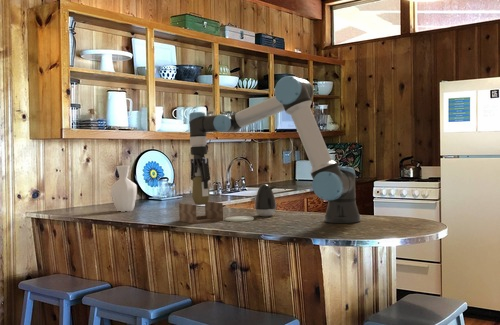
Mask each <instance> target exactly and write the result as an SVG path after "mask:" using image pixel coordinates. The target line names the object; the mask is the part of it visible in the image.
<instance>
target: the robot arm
mask: <svg viewBox="0 0 500 325" xmlns="http://www.w3.org/2000/svg"><path fill="white" fill-rule="evenodd" d="M313 96H314V88H313V85H312V83H311V82H310V81H308V80H307V79H306V78H299V77H297V76H295V75H287V76H286V75H285V76H283V77H281V78H280V79H279V80H278V81H277V82H276V84H275V87H274V96H272V97H270V98H267V99H264V100H263V101H260V102H258V103H256V104H253V105H251V106H249V107H247V108H244V109H242V110H240V111H237V112H236V113H233V114H230V115H227V114H217V115H216V114H214V115H206V112H204V111H194V112H190V113H189V114H188V115H189V116H188V119H189V120H188V124H189V135H190V136H189V145H190V146H191V147H190V155H191V156H193V158H190V180H191V181H192V182H193V178H195V177H196V176H195V173H197V170H198V168H199V169H200V172H201V176H202V181H201V182H202V196H208V186H209V181H211V174H210V166H209V158H206V157H205V155H207V154H208V147H207V145H208V144H207V141H208V139H207V133H232V134H233V133H237V132H239V131H241V129H243V128H245V127H248V126H250V125H253V124H254V123H257V122H259V121H262V120H265V119H267V118H269V117H272V116H274V115H277V114H279V113H281V112H284V111H285V113H286V114H288V115H290V116H291V119H292V122H293V124H294V126H295V128H296V131H297V134H298V135H299V138H300V140H301V144H302V146H303V148H304V151H305V154H306V156H307V158H308V161H309V164H310V166H311V171H310V176H311V178H312V184H311V185H312V186H311V188H312V190H313V192H314V194H315V196H316V197H318V198H319V199H320V200H323V201H328V203H327V207H326V211H325V214H324V222H326V223H331V224H350V223H351V224H354V223H358V222H361V214H360V213H359V212H360V211H359V209H358V205H357V203H356V202H357V200H356V199H357V198H356V196H357V194H356V171H355V168H353V167H351V166H339V164H338V162H337V161H335V160H333V159H332V156H331V154H330V152H329V150H328V147H327V145H326V143H325V139H324V138H323V135H322V133H321V129H320V128H319V125H318V123H317V121H316V118H315V116H314V113H313V111H312V109H311V105H312V103H313V102H312V99H313Z"/></svg>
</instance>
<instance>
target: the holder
mask: <svg viewBox="0 0 500 325" xmlns="http://www.w3.org/2000/svg"><path fill="white" fill-rule="evenodd" d="M223 205H224V204H223V202H218V201H210V200H209V201H208V203H207V204H204V212H205V214H204V215H197V204H189V203H184V202H182V203H181V202H180V203H178V211H179V214H178V215H179V221H181V222H184V223H189V224H193V225H194V224H202V223H203V224H204V223H213V222H220V221H221V222H222V221H224V209H223V208H224V207H223Z"/></svg>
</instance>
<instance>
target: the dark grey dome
mask: <svg viewBox="0 0 500 325" xmlns="http://www.w3.org/2000/svg"><path fill="white" fill-rule="evenodd" d="M275 188H276V189H277V186H276V185H273V186H270V185H269V184H267V183H263V184H261V185H260V186H259V188H258V189H257V191H256V192H257V193H256V196H255V200H254V209H255V212H256V213H257V215H258V216H260V217H271V216H273V215H274V214H275V212H276V209H277V202H276V198H275V195H274V191H273V189H275Z"/></svg>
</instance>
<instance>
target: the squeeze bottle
mask: <svg viewBox="0 0 500 325" xmlns="http://www.w3.org/2000/svg"><path fill="white" fill-rule="evenodd" d="M195 176H196V177H195V178H193V181H192V191H191V192H192V194H191V197H192V200H193V203H194V205H205V204H207V203H208V201H210V200H209V199H210V197H211V196H210V194H211V193H210V188H209V187H210V186H209V185H208V196H202V182H201V181H202V176H201V172H200V169H199V168H198V170H197V173H195Z"/></svg>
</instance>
